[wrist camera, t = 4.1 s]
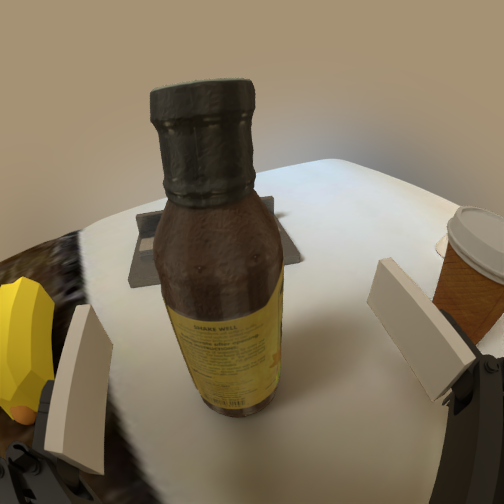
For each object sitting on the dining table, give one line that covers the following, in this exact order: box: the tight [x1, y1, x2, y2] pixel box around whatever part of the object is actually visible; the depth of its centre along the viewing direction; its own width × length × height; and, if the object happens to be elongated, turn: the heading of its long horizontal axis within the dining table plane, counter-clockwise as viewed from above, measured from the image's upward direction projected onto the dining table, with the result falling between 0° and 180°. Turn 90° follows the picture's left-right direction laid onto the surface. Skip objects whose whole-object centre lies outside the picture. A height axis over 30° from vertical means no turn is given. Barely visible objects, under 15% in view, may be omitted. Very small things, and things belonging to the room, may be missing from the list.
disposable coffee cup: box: [432, 206, 504, 345], centre depth 18 cm, size 10×10×12 cm
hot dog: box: [0, 277, 55, 425], centre depth 18 cm, size 18×7×8 cm
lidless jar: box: [436, 233, 448, 258], centre depth 32 cm, size 5×3×5 cm
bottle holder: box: [128, 196, 300, 288], centre depth 35 cm, size 20×12×5 cm, turn 102°
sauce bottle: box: [150, 78, 284, 417], centre depth 14 cm, size 6×6×20 cm
